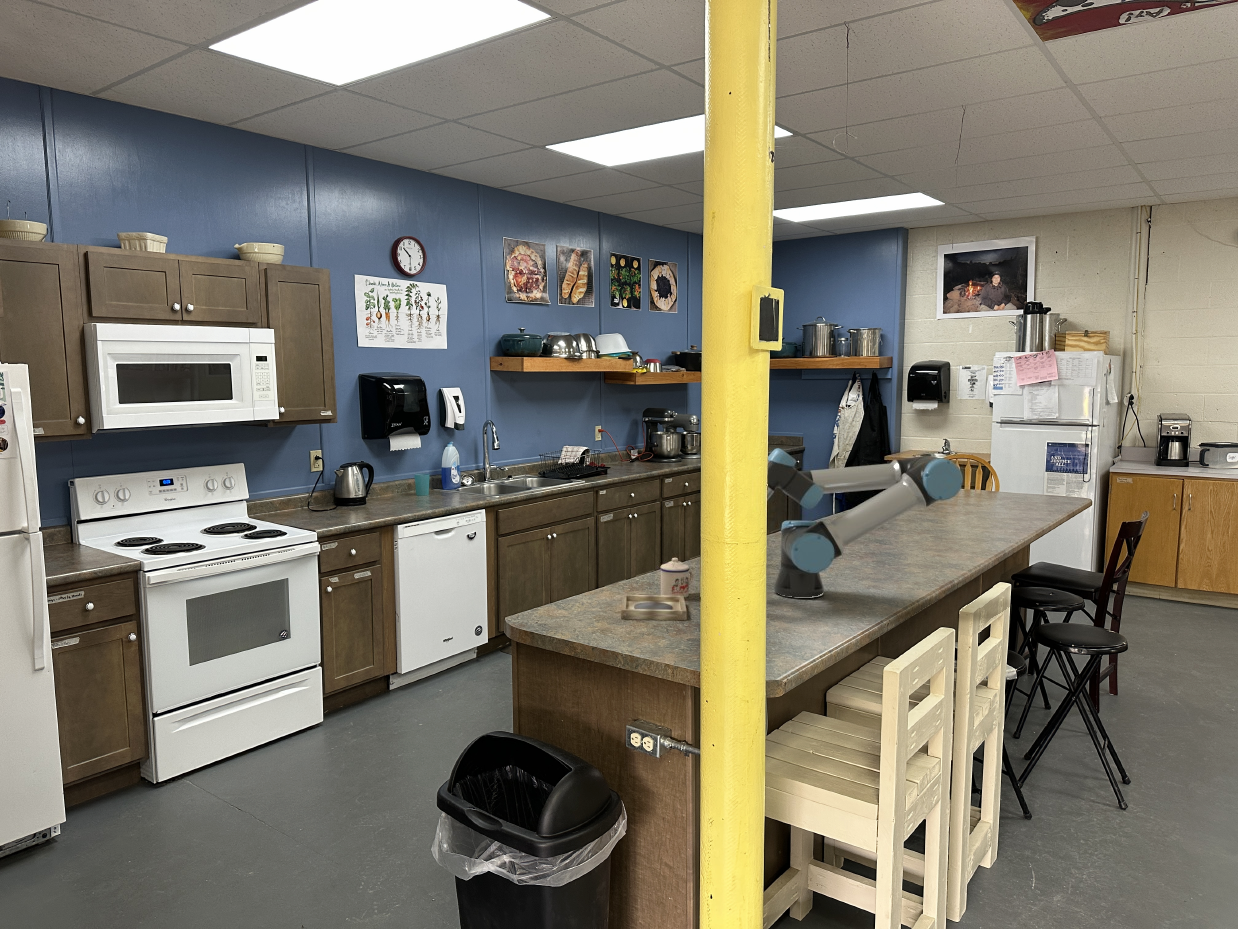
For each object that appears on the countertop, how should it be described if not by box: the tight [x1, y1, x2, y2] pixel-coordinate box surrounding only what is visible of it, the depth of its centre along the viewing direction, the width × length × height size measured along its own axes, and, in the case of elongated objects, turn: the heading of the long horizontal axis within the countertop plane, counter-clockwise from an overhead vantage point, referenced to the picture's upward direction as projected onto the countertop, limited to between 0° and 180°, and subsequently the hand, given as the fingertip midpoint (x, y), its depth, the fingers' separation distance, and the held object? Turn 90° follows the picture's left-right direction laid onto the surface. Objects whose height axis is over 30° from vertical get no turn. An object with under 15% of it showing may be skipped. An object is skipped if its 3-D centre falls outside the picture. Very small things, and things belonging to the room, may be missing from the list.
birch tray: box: [620, 594, 688, 621], centre depth 236 cm, size 18×17×2 cm
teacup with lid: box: [659, 557, 694, 598], centre depth 255 cm, size 12×9×12 cm
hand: (711, 552), depth 244 cm, fingers open, 13 cm apart
